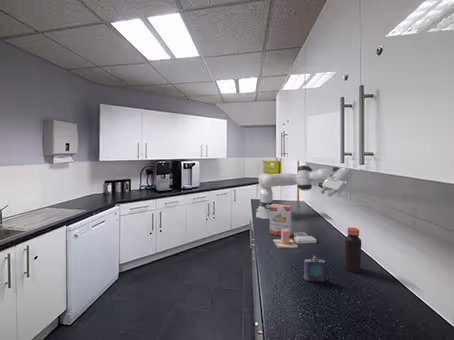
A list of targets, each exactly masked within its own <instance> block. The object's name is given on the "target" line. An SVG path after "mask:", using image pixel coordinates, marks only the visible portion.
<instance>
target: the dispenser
mask: <svg viewBox="0 0 454 340" xmlns="http://www.w3.org/2000/svg"><path fill="white" fill-rule="evenodd" d="M293 241H294V242H295V243H297V245H298V244H316V243H317V239H316V238H315V237H314V236H311V235H308V234H307V233H306V232H304V231H303V232H293Z"/></svg>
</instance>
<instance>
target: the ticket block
mask: <svg viewBox="0 0 454 340" xmlns="http://www.w3.org/2000/svg"><path fill="white" fill-rule="evenodd" d="M280 239H281V242H282V243H283V244H289V239H290V237H289V230H288V229H281V236H280Z"/></svg>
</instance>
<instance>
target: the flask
mask: <svg viewBox="0 0 454 340" xmlns="http://www.w3.org/2000/svg"><path fill="white" fill-rule="evenodd" d="M303 262H304V263H303V264H304V265H303V267H304V269H303V279H304V281H307V282H326V277H327V276H326V274H327V273H326V270H327V267H326V266H327V262H326V261H325V260H324V259H321V258H319V259H318V258H317V256H316V255H313V256H312V258H311V259H304V261H303Z"/></svg>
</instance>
